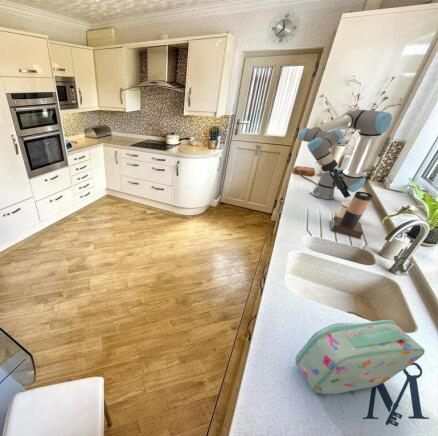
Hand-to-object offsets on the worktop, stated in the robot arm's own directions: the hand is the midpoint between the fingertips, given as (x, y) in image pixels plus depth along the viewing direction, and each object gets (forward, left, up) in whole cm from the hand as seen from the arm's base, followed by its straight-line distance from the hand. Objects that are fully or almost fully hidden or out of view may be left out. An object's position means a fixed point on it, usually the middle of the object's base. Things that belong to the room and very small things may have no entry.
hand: (346, 192), depth 136 cm
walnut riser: (0, +7, -22) cm, 24 cm away
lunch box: (+106, 0, -23) cm, 108 cm away
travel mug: (0, +8, -19) cm, 20 cm away
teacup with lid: (-21, +8, -23) cm, 32 cm away
